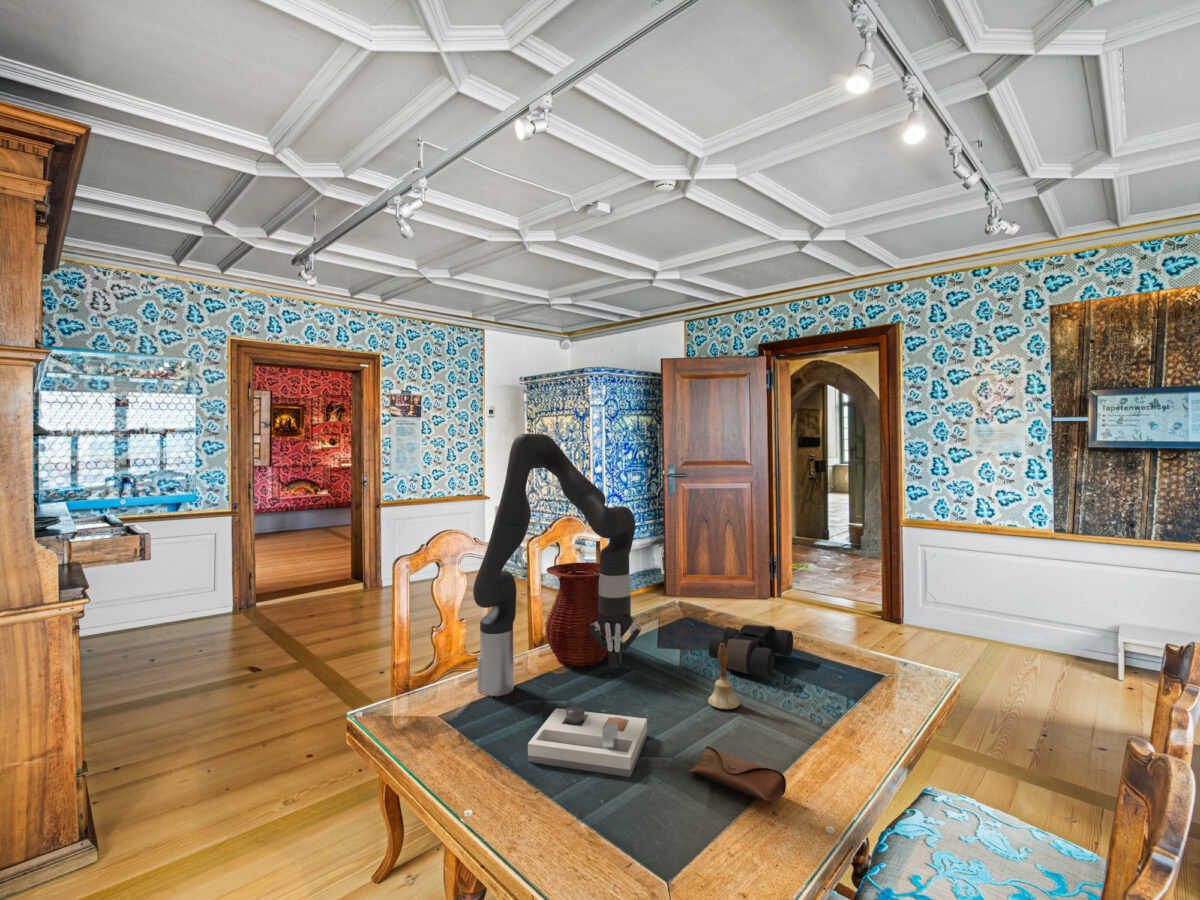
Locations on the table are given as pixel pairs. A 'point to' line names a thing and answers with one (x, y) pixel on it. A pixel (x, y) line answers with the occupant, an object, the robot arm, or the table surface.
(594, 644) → the vase
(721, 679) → the hand bell
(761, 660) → the binoculars
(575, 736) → the console
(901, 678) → the table surface
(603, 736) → the steel slider
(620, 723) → the terracotta button
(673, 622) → the table surface
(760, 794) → the sunglasses case
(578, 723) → the black button
